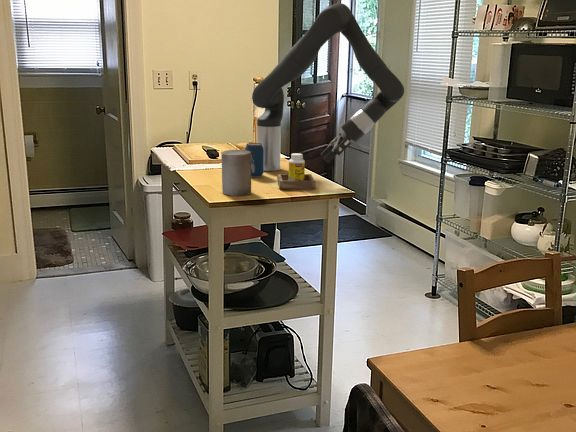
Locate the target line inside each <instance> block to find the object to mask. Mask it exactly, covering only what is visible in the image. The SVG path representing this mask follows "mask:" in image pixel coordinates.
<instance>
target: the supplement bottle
mask: <svg viewBox="0 0 576 432" xmlns="http://www.w3.org/2000/svg"><path fill="white" fill-rule="evenodd" d="M290 157H291V158H290V159H288V174H289V177H288V181H304V174H306V173H305V172H306V171H305V169H306V168H305V167H306V161H305V159H304V155H303V153H298V152H297V153H296V152H295V153H291V156H290Z"/></svg>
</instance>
